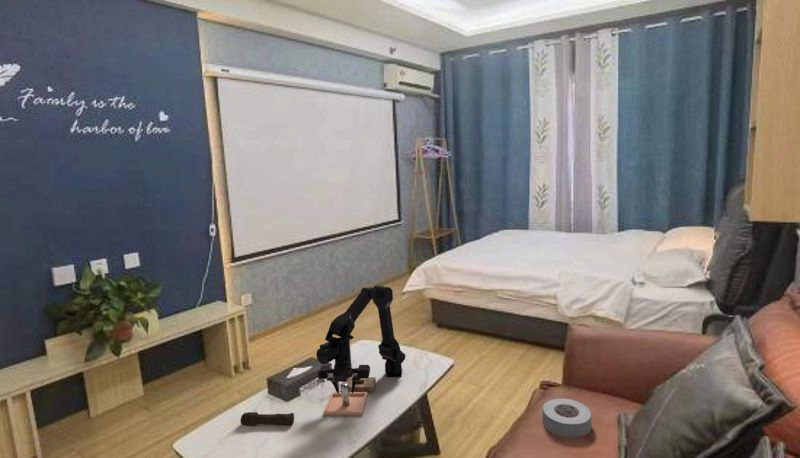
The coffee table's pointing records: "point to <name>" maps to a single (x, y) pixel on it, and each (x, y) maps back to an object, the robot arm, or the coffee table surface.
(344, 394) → the metal pin
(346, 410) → the terracotta dish
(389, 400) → the coffee table surface
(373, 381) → the clamp block
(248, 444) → the coffee table surface
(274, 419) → the hand tool
